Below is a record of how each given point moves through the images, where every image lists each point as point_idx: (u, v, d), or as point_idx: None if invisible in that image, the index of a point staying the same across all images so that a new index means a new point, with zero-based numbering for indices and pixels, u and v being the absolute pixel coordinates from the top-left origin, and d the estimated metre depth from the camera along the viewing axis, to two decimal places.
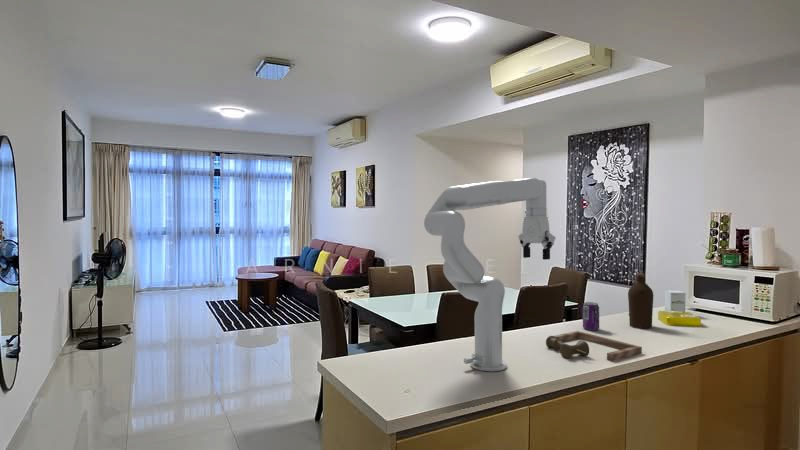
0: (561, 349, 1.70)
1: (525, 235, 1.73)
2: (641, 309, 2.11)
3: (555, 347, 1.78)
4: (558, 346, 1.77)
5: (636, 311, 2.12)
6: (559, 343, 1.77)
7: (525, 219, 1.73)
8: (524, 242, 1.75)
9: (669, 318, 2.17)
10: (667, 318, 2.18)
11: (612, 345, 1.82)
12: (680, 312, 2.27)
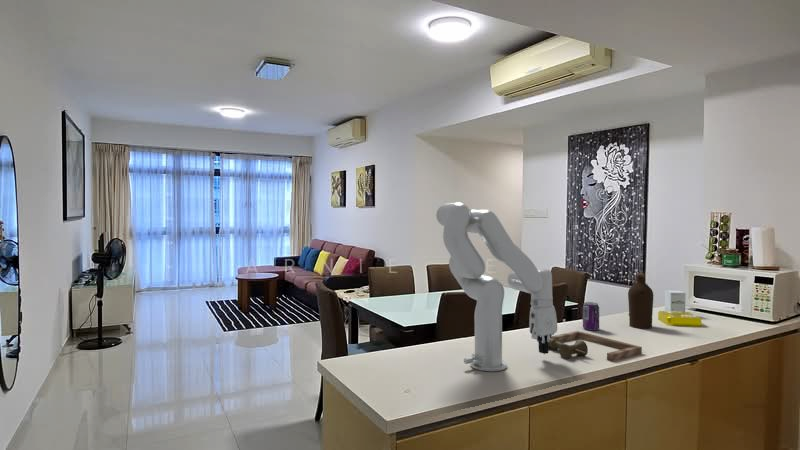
0: (560, 349, 1.70)
1: (543, 328, 1.63)
2: (641, 309, 2.11)
3: (553, 347, 1.78)
4: (556, 346, 1.77)
5: (636, 311, 2.12)
6: (557, 343, 1.77)
7: (541, 311, 1.63)
8: (542, 337, 1.65)
9: (670, 318, 2.17)
10: (668, 318, 2.17)
11: (612, 345, 1.82)
12: (680, 312, 2.26)
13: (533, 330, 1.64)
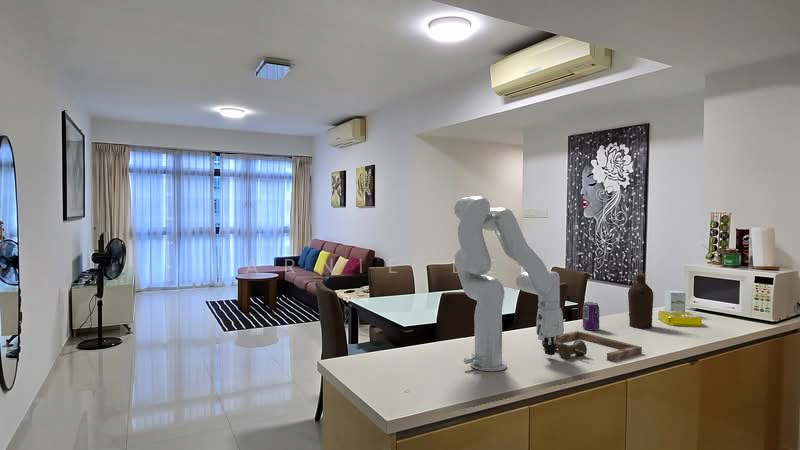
0: (559, 349, 1.70)
1: (550, 330, 1.65)
2: (641, 309, 2.11)
3: None
4: (555, 346, 1.77)
5: (636, 311, 2.12)
6: (556, 343, 1.77)
7: (549, 313, 1.65)
8: (549, 339, 1.67)
9: (671, 318, 2.17)
10: (668, 318, 2.17)
11: (612, 345, 1.82)
12: (680, 312, 2.26)
13: (540, 331, 1.66)
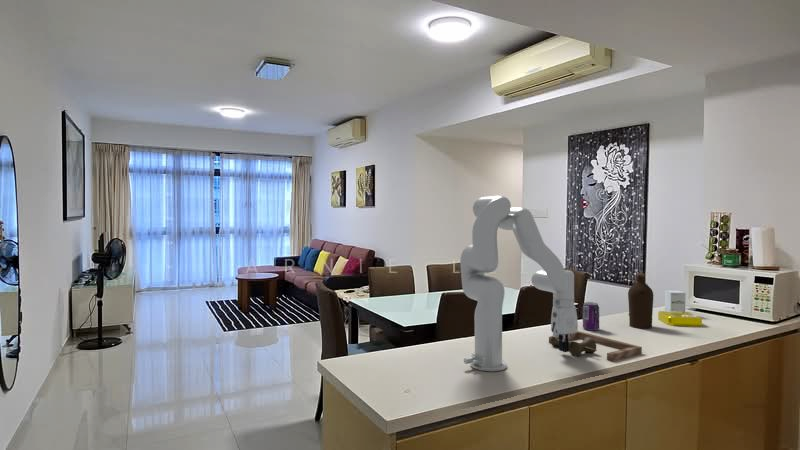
0: (570, 347, 1.73)
1: (564, 327, 1.69)
2: (641, 309, 2.11)
3: None
4: None
5: (636, 311, 2.12)
6: None
7: (563, 311, 1.69)
8: (563, 336, 1.71)
9: (671, 318, 2.16)
10: (669, 318, 2.17)
11: (612, 345, 1.82)
12: (680, 312, 2.26)
13: (555, 329, 1.70)
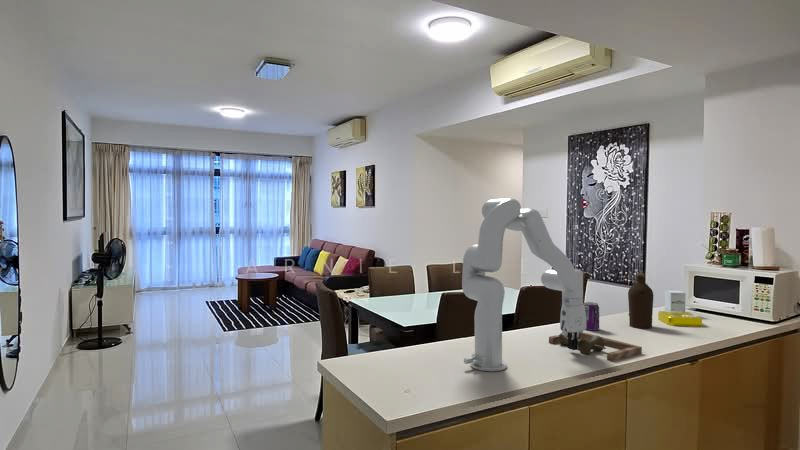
0: (580, 345, 1.75)
1: (573, 325, 1.71)
2: (641, 309, 2.11)
3: None
4: None
5: (636, 311, 2.12)
6: None
7: (572, 309, 1.71)
8: (572, 334, 1.73)
9: (671, 318, 2.16)
10: (669, 318, 2.17)
11: (612, 345, 1.82)
12: (680, 312, 2.26)
13: (564, 327, 1.73)
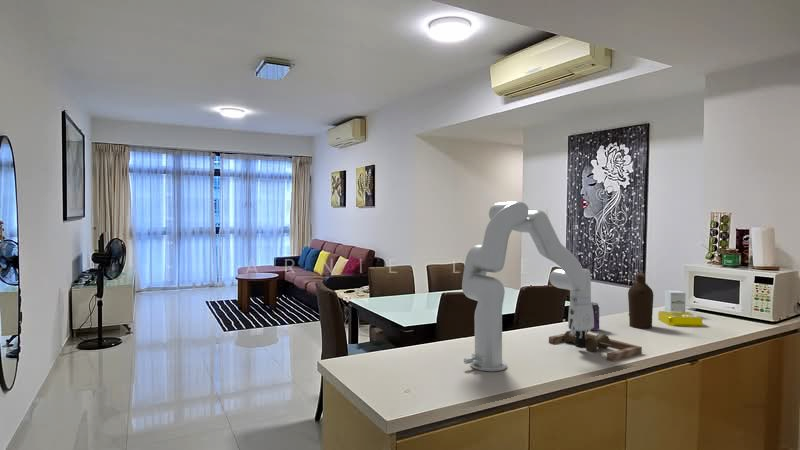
0: (586, 343, 1.78)
1: (581, 324, 1.74)
2: (641, 309, 2.11)
3: (575, 341, 1.86)
4: None
5: (636, 311, 2.12)
6: None
7: (580, 308, 1.74)
8: (580, 333, 1.76)
9: (672, 318, 2.16)
10: (670, 318, 2.17)
11: (612, 345, 1.82)
12: (680, 312, 2.26)
13: (572, 325, 1.75)
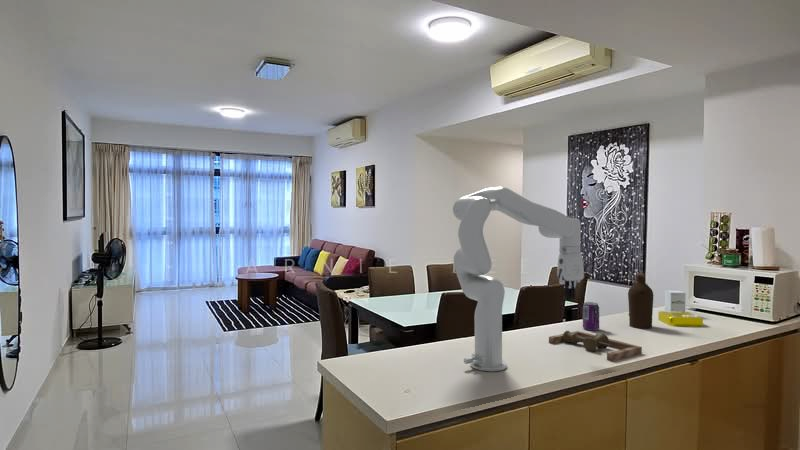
0: (585, 343, 1.78)
1: (570, 273, 1.71)
2: (641, 309, 2.11)
3: (574, 341, 1.86)
4: (577, 340, 1.85)
5: (636, 311, 2.12)
6: (578, 337, 1.85)
7: (570, 257, 1.71)
8: (569, 283, 1.73)
9: (673, 319, 2.16)
10: (670, 319, 2.17)
11: (612, 345, 1.82)
12: (680, 312, 2.26)
13: (561, 275, 1.72)
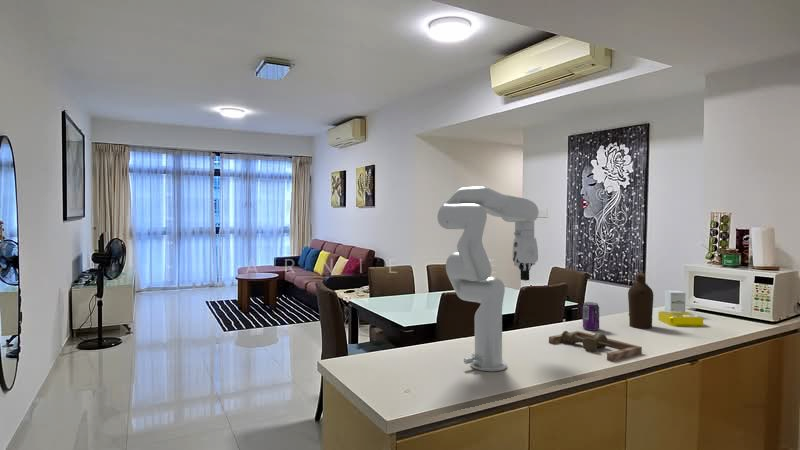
0: (585, 343, 1.78)
1: (524, 256, 1.79)
2: (641, 309, 2.11)
3: (573, 341, 1.85)
4: (576, 340, 1.85)
5: (636, 311, 2.12)
6: (577, 337, 1.85)
7: (523, 240, 1.79)
8: (524, 265, 1.81)
9: (673, 319, 2.16)
10: (671, 319, 2.16)
11: (612, 345, 1.82)
12: (680, 312, 2.26)
13: (516, 258, 1.80)
